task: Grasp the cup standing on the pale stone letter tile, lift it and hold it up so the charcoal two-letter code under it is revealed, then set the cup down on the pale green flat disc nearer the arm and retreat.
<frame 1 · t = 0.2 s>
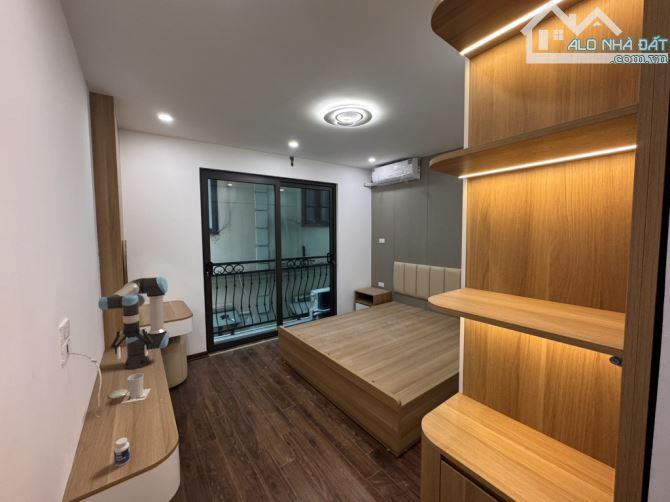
hand: (132, 356, 163), 26 cm above the table, fingers open, 13 cm apart
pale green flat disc: (118, 394, 169), on the table
pill bottle: (122, 462, 121), on the table
code tile: (136, 395, 168), on the table
cup: (136, 395, 168), on the table, touching code tile
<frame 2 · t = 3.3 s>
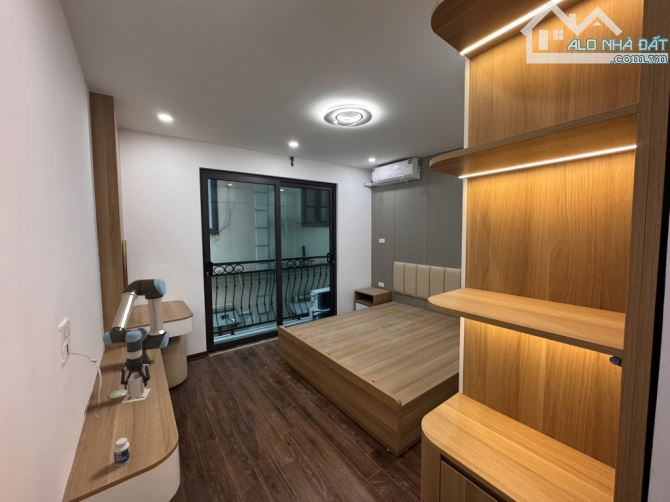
hand: (136, 392, 168), 2 cm above the table, fingers closed on cup, 7 cm apart
cup: (136, 395, 168), on the table, touching code tile, gripper
everything else where it was.
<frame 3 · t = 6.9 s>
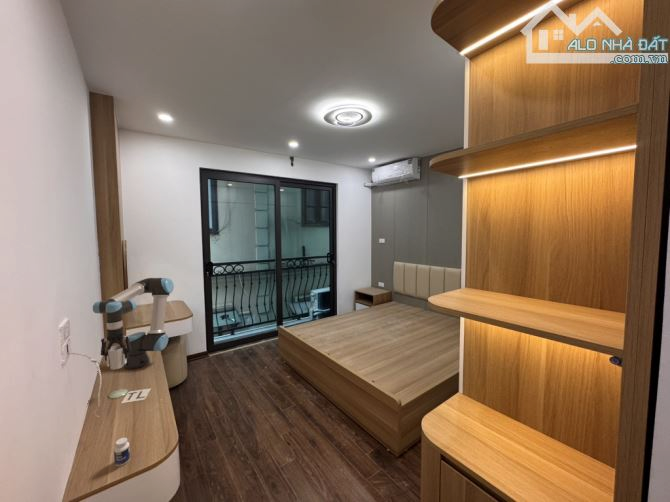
hand: (117, 364, 168), 19 cm above the table, fingers closed on cup, 7 cm apart
cup: (117, 367, 168), point 17 cm above the table, touching gripper
everything else where it was.
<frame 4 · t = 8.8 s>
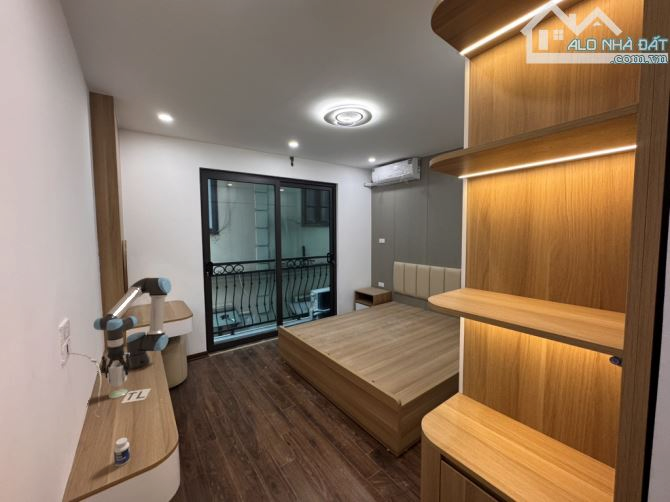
hand: (117, 381, 168), 8 cm above the table, fingers closed on cup, 7 cm apart
cup: (117, 384, 168), point 7 cm above the table, touching gripper
everything else where it was.
when the fingers open (3 cm above the table, at t = 10.7 s): cup stays where it is, resting on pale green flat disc.
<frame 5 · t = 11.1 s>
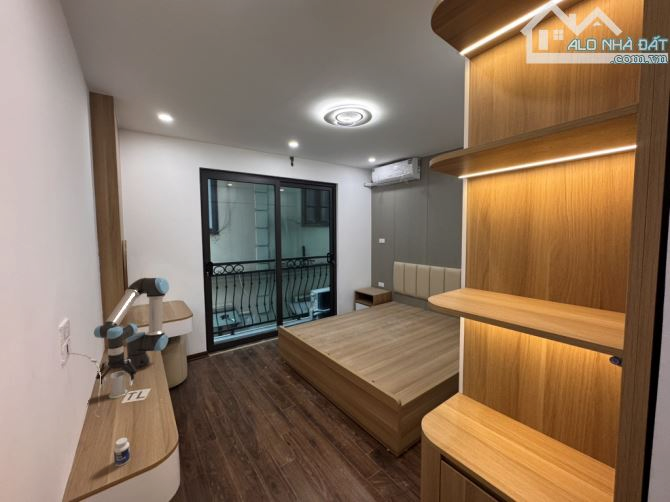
hand: (118, 386, 169), 5 cm above the table, fingers open, 13 cm apart
cup: (118, 393, 169), resting on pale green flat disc
everything else where it was.
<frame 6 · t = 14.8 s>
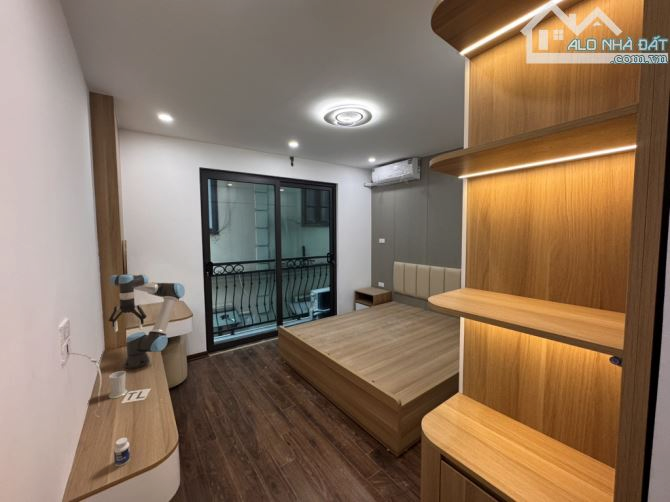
hand: (128, 330, 181), 35 cm above the table, fingers open, 13 cm apart
nothing on the table moved.
at the end: cup 0.1 cm from the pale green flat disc (horizontally); cup tilted 0°; the gripper is holding nothing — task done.
